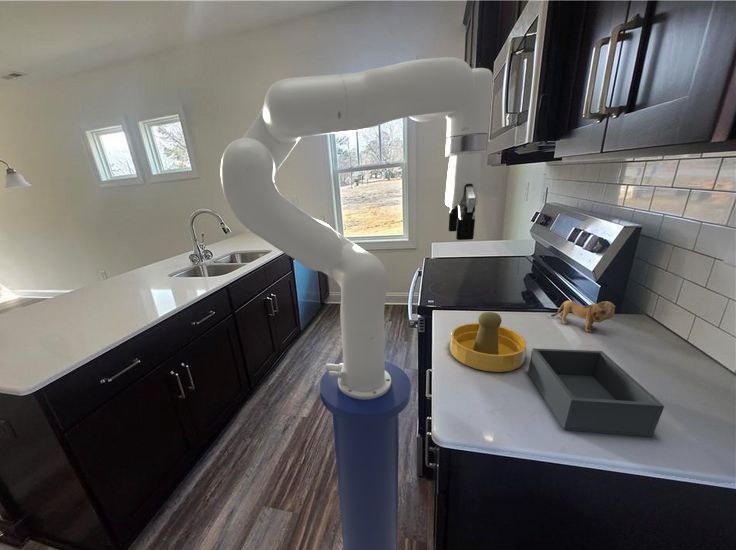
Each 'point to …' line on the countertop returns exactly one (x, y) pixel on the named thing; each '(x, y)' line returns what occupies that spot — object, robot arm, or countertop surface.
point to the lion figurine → (587, 312)
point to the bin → (593, 393)
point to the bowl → (507, 360)
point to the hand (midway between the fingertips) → (459, 234)
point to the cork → (488, 333)
